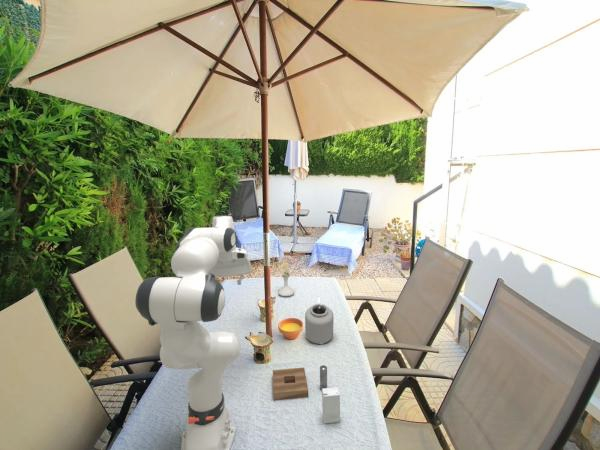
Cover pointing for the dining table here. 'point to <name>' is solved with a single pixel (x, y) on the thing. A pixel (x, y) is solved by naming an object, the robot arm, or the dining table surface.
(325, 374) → the peg
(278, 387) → the socket block
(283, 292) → the flower in vase
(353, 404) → the dining table surface
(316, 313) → the jar
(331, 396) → the skincare box
